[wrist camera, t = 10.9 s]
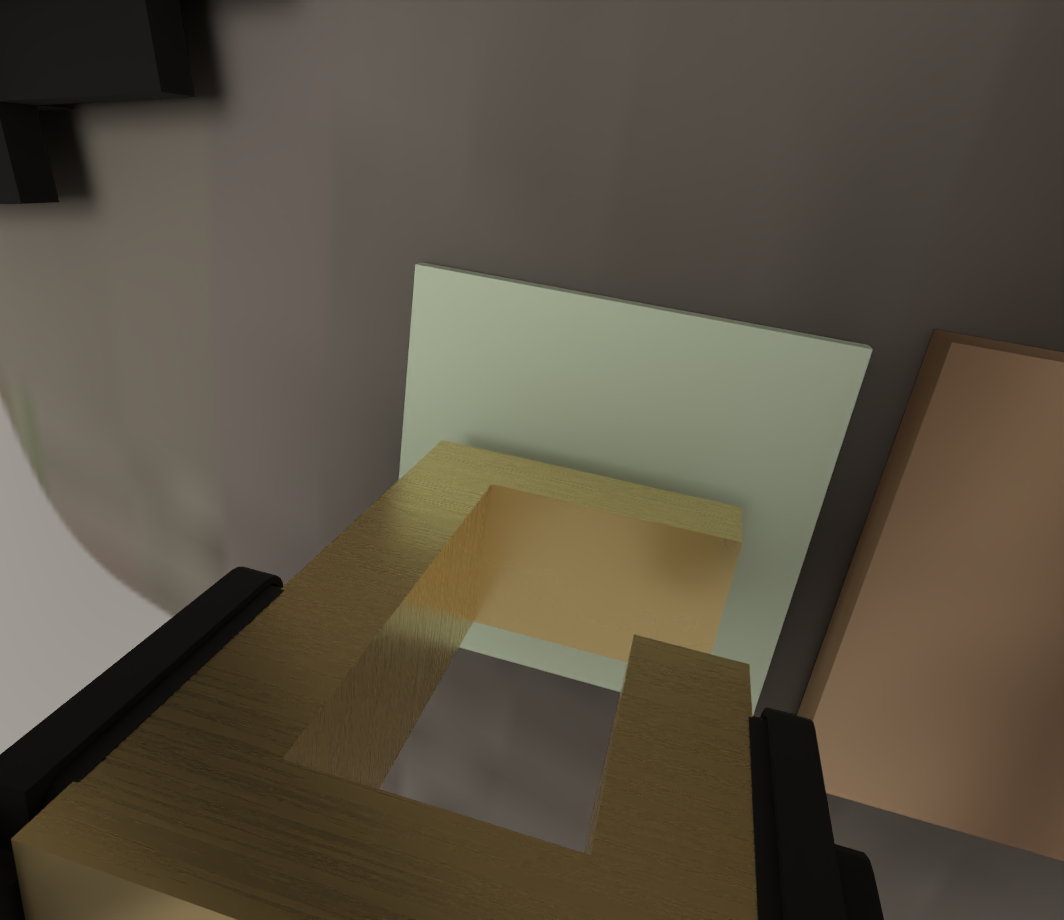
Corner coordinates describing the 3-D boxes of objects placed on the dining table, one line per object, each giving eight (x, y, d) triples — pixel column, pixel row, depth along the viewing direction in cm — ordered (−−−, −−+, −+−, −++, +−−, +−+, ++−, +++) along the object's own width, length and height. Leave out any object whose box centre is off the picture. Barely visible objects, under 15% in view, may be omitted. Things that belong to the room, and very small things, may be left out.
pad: (869, 344, 14) (872, 349, 14) (748, 716, 17) (749, 728, 17) (422, 262, 16) (415, 264, 15) (393, 618, 19) (387, 627, 19)
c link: (740, 507, 14) (773, 1110, 5) (704, 637, 15) (676, 1322, 6) (442, 439, 15) (10, 839, 6) (429, 566, 16) (51, 1065, 7)
